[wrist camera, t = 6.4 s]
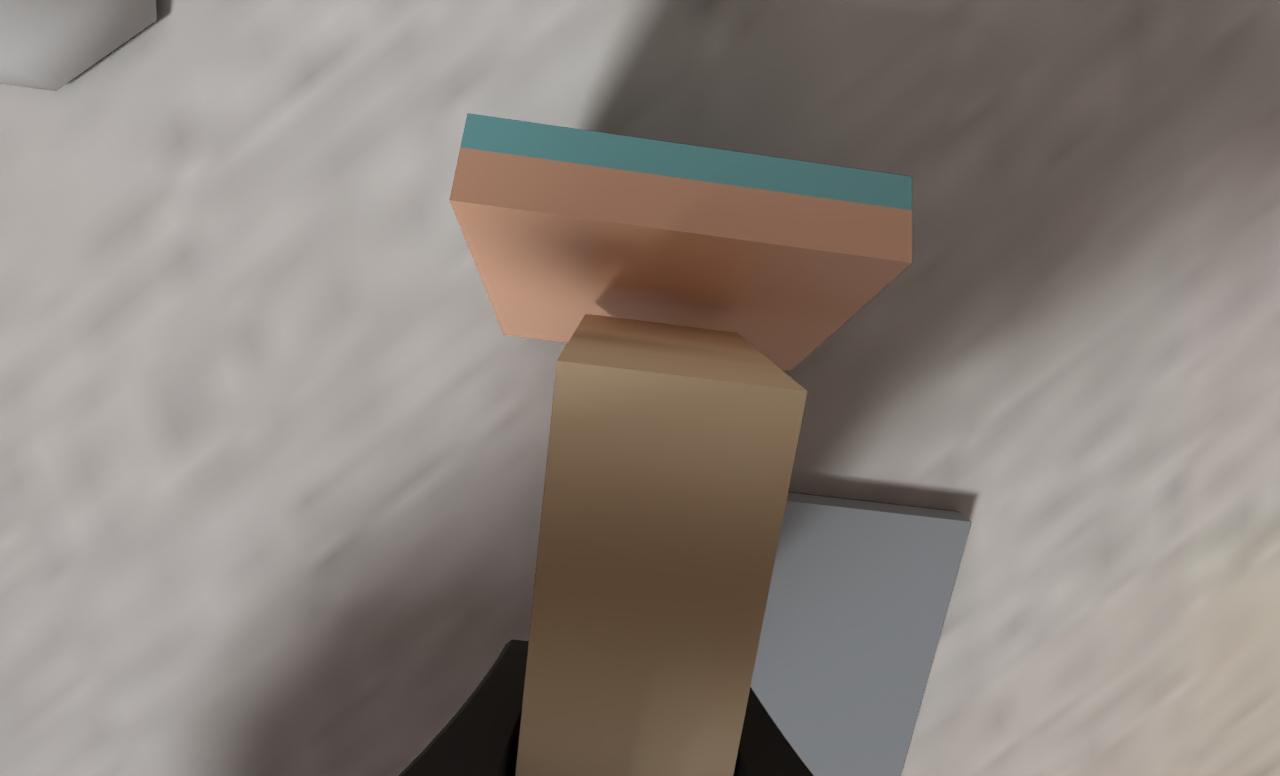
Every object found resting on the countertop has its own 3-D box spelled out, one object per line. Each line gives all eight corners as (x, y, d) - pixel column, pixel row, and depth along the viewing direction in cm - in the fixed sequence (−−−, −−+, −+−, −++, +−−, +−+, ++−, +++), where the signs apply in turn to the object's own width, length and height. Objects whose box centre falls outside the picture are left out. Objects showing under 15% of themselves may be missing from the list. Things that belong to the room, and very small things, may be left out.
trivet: (865, 857, 20) (872, 876, 19) (614, 836, 20) (614, 855, 19) (959, 511, 17) (971, 521, 16) (668, 478, 17) (669, 487, 16)
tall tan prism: (667, 756, 15) (687, 1015, 10) (538, 744, 14) (492, 1000, 10) (736, 332, 12) (807, 391, 7) (585, 313, 12) (556, 361, 7)
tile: (790, 370, 15) (912, 262, 10) (503, 334, 15) (449, 200, 9) (793, 313, 16) (912, 176, 10) (514, 277, 15) (467, 113, 10)
